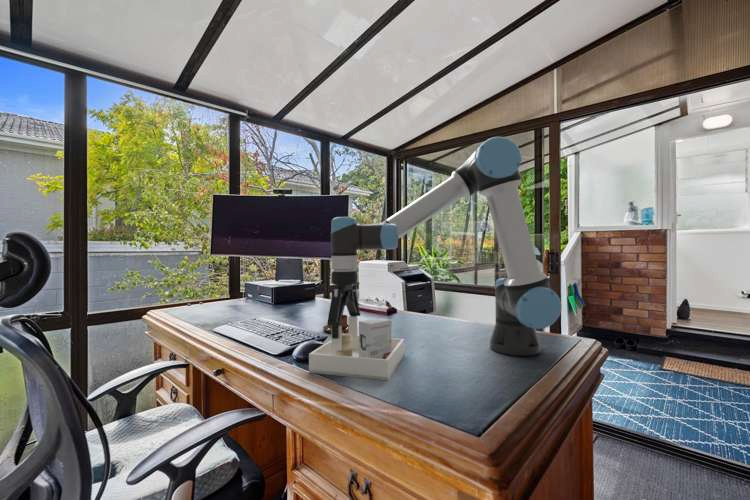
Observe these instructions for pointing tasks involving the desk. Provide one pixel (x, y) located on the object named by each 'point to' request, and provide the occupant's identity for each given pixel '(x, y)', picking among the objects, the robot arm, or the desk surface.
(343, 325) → the cup and saucer
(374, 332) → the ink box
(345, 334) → the birch cylinder
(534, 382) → the desk surface
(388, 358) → the tray
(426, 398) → the desk surface
